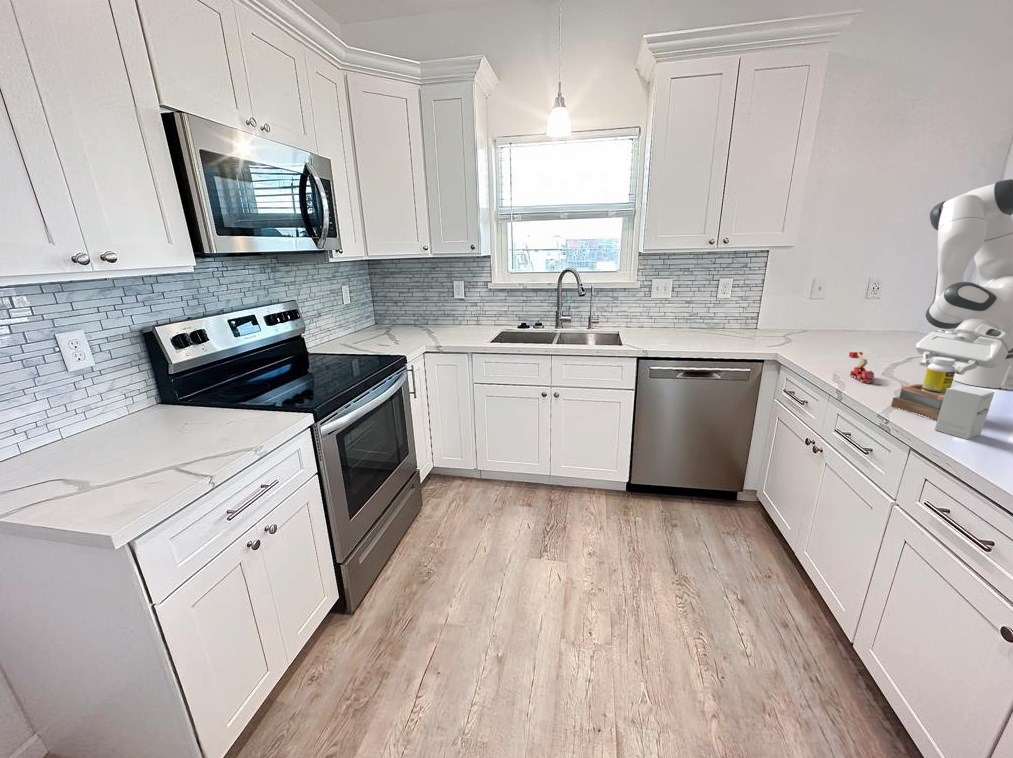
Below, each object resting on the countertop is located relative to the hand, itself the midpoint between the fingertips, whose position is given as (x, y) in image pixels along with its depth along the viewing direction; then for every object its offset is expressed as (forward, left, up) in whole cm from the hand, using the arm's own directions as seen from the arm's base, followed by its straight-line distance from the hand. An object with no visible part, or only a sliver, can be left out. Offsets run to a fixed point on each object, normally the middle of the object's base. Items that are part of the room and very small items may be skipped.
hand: (939, 368), depth 133 cm
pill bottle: (-1, 0, -8) cm, 8 cm away
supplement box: (+9, +14, -14) cm, 22 cm away
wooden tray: (-1, 0, -14) cm, 14 cm away
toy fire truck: (-13, -33, -14) cm, 38 cm away
